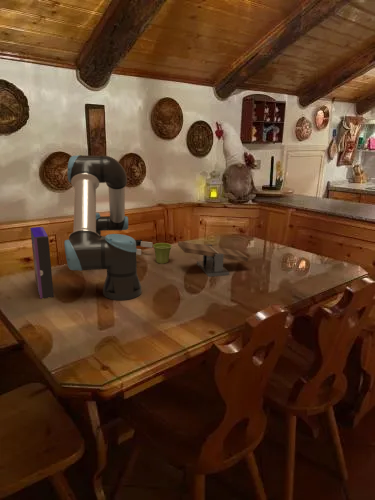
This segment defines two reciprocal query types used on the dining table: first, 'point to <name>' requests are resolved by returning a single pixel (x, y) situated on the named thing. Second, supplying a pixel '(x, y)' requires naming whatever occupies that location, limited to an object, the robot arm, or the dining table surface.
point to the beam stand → (213, 265)
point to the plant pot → (162, 252)
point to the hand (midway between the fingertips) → (146, 248)
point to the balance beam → (211, 251)
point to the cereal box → (42, 262)
